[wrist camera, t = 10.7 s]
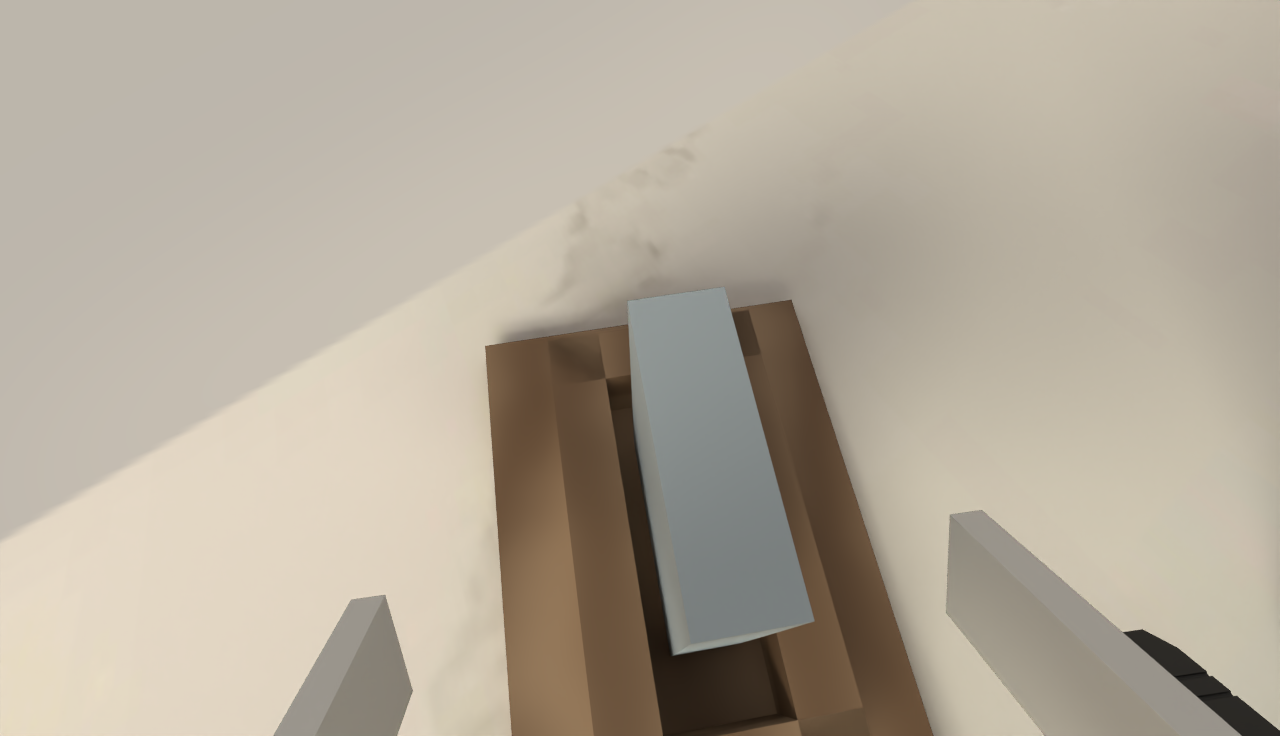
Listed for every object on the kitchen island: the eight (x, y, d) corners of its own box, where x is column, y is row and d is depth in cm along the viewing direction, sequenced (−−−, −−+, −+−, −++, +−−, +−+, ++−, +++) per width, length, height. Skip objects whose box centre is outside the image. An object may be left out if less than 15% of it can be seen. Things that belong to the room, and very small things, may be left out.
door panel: (693, 434, 26) (724, 286, 16) (739, 643, 22) (814, 621, 12) (634, 444, 26) (627, 300, 16) (670, 656, 22) (691, 643, 12)
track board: (786, 313, 30) (807, 258, 26) (946, 817, 21) (1015, 850, 17) (491, 358, 29) (466, 308, 25) (531, 904, 20) (502, 962, 16)
